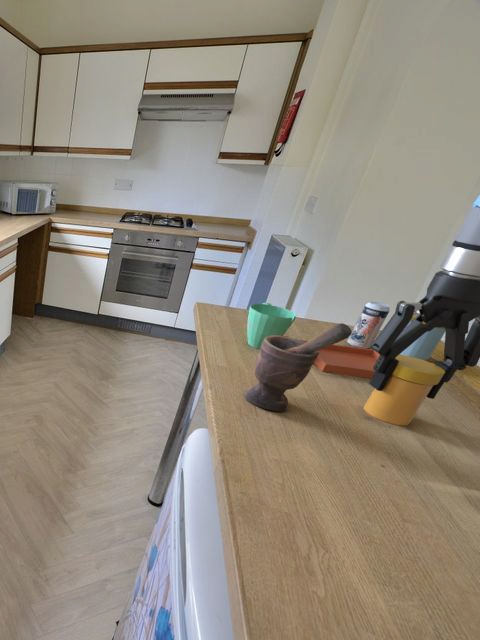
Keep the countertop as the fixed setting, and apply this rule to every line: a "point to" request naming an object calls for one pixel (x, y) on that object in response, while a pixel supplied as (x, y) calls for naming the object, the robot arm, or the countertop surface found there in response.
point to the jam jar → (397, 401)
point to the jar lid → (417, 370)
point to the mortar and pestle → (287, 365)
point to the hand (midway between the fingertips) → (400, 390)
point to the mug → (267, 322)
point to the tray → (347, 360)
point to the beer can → (368, 324)
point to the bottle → (424, 343)
